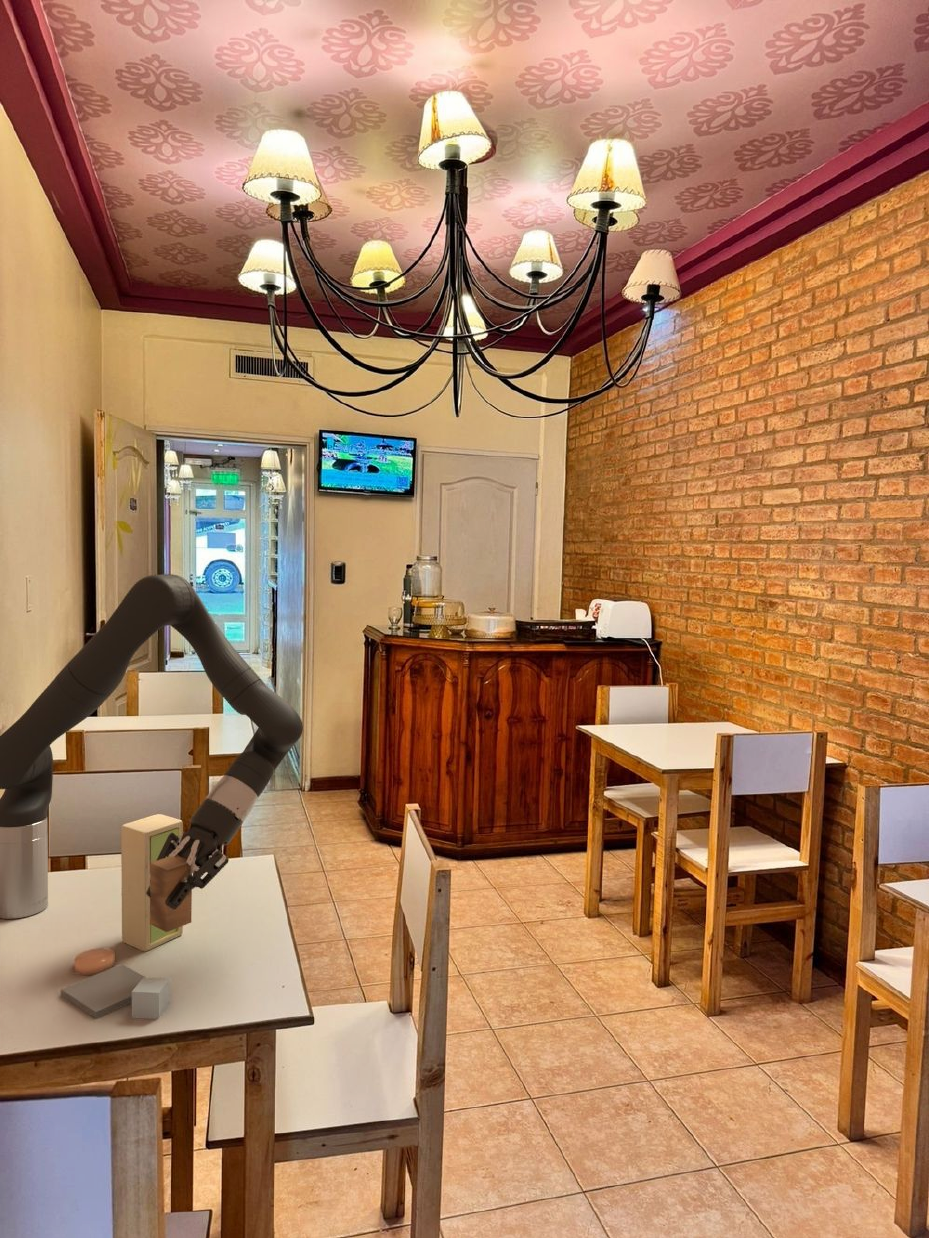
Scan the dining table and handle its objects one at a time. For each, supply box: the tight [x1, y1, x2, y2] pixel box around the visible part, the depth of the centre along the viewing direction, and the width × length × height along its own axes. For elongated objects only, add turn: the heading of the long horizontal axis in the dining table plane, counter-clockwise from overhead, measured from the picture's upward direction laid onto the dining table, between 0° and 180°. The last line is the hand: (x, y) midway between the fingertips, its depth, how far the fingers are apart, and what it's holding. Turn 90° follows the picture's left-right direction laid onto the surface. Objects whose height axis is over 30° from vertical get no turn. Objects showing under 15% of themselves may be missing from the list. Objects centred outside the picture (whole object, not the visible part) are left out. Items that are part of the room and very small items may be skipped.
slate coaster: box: [60, 963, 147, 1019], centre depth 124 cm, size 10×10×1 cm
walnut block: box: [150, 856, 193, 932], centre depth 129 cm, size 4×4×10 cm
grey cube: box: [131, 977, 171, 1019], centre depth 120 cm, size 4×4×4 cm
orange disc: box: [73, 947, 115, 976], centre depth 132 cm, size 6×6×2 cm
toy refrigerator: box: [120, 813, 184, 952], centre depth 141 cm, size 8×7×21 cm
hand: (160, 901), depth 127 cm, fingers closed on walnut block, 4 cm apart
